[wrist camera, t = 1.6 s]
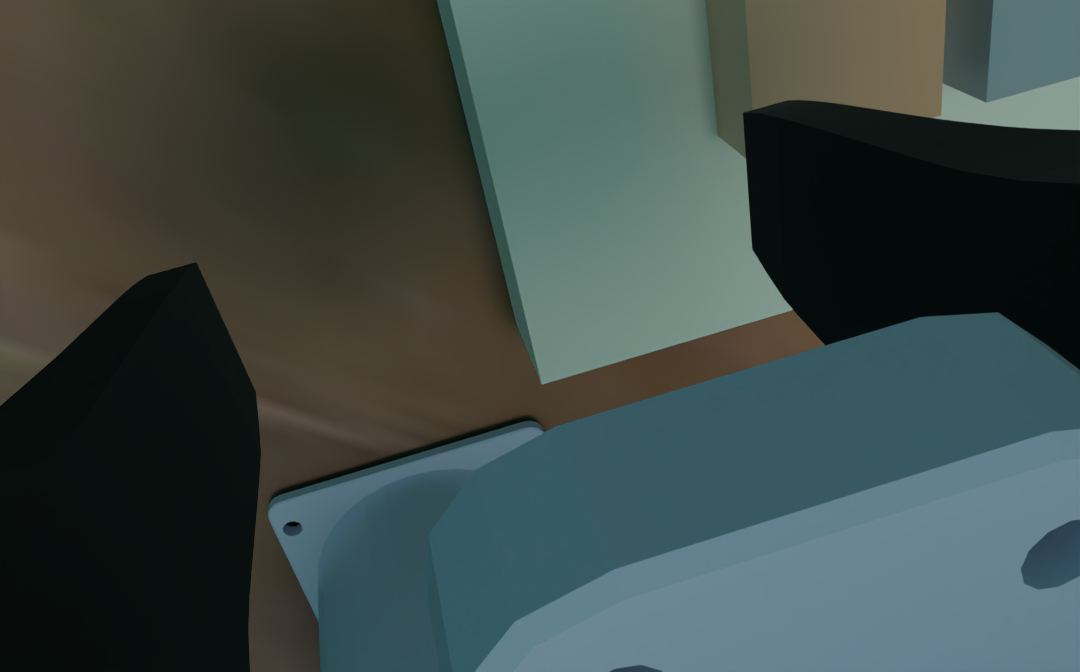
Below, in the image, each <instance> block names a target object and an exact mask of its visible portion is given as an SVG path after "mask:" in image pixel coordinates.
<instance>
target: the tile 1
mask: <svg viewBox="0 0 1080 672" xmlns="http://www.w3.org/2000/svg"><path fill="white" fill-rule="evenodd" d="M705 2H706V13H707V24H708V35H709V45H710V56H711V67H712V77H713V88H714V99H715V109H716V120H717V131H718V136H719V137H720V138H721V139H722V140H723V141H725V142H726V143H727V144H728V145H730V146H731V147H732V148H733V149H735V150H736V151H737V152H738V153H740V154H741V155H742V156H743V157H745V158H746V152H745V138H744V123H743V112H747V111H751V110H754V109H758V108H762V107H765V106H769V105H773V104H776V103H780V102H783V101H788V100H809V101H820V102H829V103H837V104H844V105H851V106H857V107H864V108H870V109H876V110H883V111H889V112H895V113H902V114H908V115H915V116H922V117H928V118H934V117H937V116H941V109H942V86H943V63H944V41H945V18H946V0H705Z"/></svg>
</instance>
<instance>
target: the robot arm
mask: <svg viewBox="0 0 1080 672" xmlns="http://www.w3.org/2000/svg"><path fill="white" fill-rule="evenodd" d="M743 123H744V138H745V152H746V167H747V181H748V196H749V210H750V225H751V239H752V250H753V251H754V253H755V255H756V256H757V258H758V259H759V261H760V263H761V264H762V266H763V268H764V269H765V271H766V272H767V274H768V276H769V277H770V279H771V280H772V282H773V283H774V285H775V286H776V288H777V289H778V291H779V292H780V294H781V295H782V297H783V298H784V300H785V301H786V302H787V303H788V304H789V305H790V307H791V308H792V309H793V310H794V311H795V312H796V313H797V315H798V316H799V317H800V318H801V319H802V320H803V321H804V322H805V323H806V324H807V326H808V327H809V328H810V329H811V330H812V331H813V332H814V333H815V334H816V336H817V337H818V338H819V339H820V340H821V341H822V342H823V343H824V344H825V345H826V346H822V347H819V348H816V349H812V350H809V351H806V352H802V353H799V354H796V355H792V356H789V357H786V358H782V359H779V360H776V361H772V362H769V363H766V364H762V365H759V366H756V367H752V368H749V369H745V370H742V371H739V372H735V373H732V374H729V375H725V376H722V377H719V378H715V379H712V380H709V381H705V382H702V383H699V384H695V385H692V386H689V387H685V388H682V389H679V390H675V391H672V392H669V393H665V394H662V395H659V396H655V397H652V398H649V399H645V400H642V401H639V402H635V403H632V404H629V405H625V406H622V407H619V408H615V409H612V410H609V411H605V412H602V413H599V414H595V415H592V416H588V417H585V418H582V419H578V420H575V421H572V422H568V423H565V424H562V425H558V426H556V427H554V428H552V429H550V430H548V431H547V432H545V433H544V431H543V429H542V427H541V425H540V424H538V423H537V422H533V421H524V422H520V423H517V424H514V425H510V426H507V427H504V428H500V429H497V430H494V431H490V432H487V433H484V434H481V435H477V436H474V437H471V438H467V439H464V440H461V441H457V442H454V443H451V444H447V445H444V446H441V447H437V448H434V449H431V450H427V451H424V452H421V453H417V454H414V455H411V456H407V457H404V458H401V459H397V460H394V461H391V462H387V463H384V464H381V465H377V466H374V467H371V468H367V469H364V470H361V471H358V472H354V473H351V474H348V475H344V476H341V477H338V478H334V479H331V480H328V481H324V482H321V483H318V484H314V485H311V486H308V487H304V488H301V489H298V490H294V491H291V492H288V493H284V494H281V495H279V496H277V497H275V498H274V499H273V500H272V501H271V502H270V504H269V507H268V518H269V521H270V523H271V525H272V527H273V530H274V532H275V534H276V536H277V538H278V540H279V542H280V544H281V546H282V548H283V550H284V552H285V554H286V556H287V558H288V560H289V562H290V564H291V567H292V569H293V571H294V573H295V575H296V577H297V579H298V581H299V583H300V585H301V587H302V589H303V591H304V593H305V595H306V597H307V599H308V602H309V604H310V606H311V608H312V610H313V612H314V614H315V616H316V618H317V620H318V622H319V647H320V672H1080V130H1062V129H1034V128H1019V127H1006V126H996V125H987V124H977V123H968V122H959V121H951V120H943V119H936V118H928V117H922V116H915V115H908V114H902V113H895V112H889V111H883V110H876V109H870V108H864V107H857V106H851V105H844V104H837V103H829V102H820V101H809V100H788V101H783V102H780V103H776V104H773V105H769V106H765V107H762V108H758V109H754V110H751V111H747V112H743ZM260 459H261V449H260V434H259V421H258V411H257V400H256V392H255V389H254V387H253V385H252V383H251V381H250V378H249V376H248V374H247V372H246V370H245V368H244V365H243V363H242V361H241V359H240V357H239V354H238V352H237V350H236V348H235V346H234V343H233V341H232V339H231V337H230V335H229V333H228V330H227V328H226V326H225V324H224V322H223V319H222V317H221V315H220V313H219V311H218V309H217V306H216V304H215V302H214V300H213V298H212V295H211V293H210V291H209V289H208V287H207V285H206V282H205V280H204V278H203V276H202V274H201V271H200V269H199V267H198V265H197V263H192V264H188V265H185V266H181V267H177V268H174V269H170V270H167V271H163V272H159V273H156V274H152V275H148V276H146V277H145V278H143V279H142V280H140V281H139V282H137V283H136V284H135V285H133V286H132V287H131V288H130V289H129V290H127V291H126V292H125V293H124V294H123V295H122V296H121V297H119V298H118V299H117V300H116V301H115V302H114V303H113V304H112V305H111V306H110V307H109V308H108V309H107V310H106V311H104V312H103V313H102V314H101V315H100V316H99V317H98V318H97V319H96V320H95V321H94V322H93V323H92V324H91V325H90V326H89V327H88V328H87V329H86V330H85V331H83V332H82V333H81V334H80V335H79V336H78V337H77V338H76V339H75V340H74V341H73V342H72V343H71V344H70V345H69V346H68V347H67V348H66V349H65V350H64V351H62V352H61V353H60V354H59V355H58V356H57V357H56V358H55V359H54V360H53V361H51V362H50V363H49V364H48V365H47V366H46V367H45V368H43V369H42V370H41V371H40V372H39V373H38V374H37V375H35V376H34V377H33V378H32V379H31V380H30V381H29V382H27V383H26V384H25V385H24V386H23V387H22V388H21V389H19V390H18V391H17V392H16V393H15V394H14V395H13V396H11V397H10V398H9V399H8V400H7V401H6V402H5V403H3V404H2V405H1V406H0V672H250V664H249V639H248V618H249V593H250V582H251V570H252V558H253V547H254V535H255V524H256V512H257V500H258V487H259V474H260ZM294 521H295V522H298V523H300V524H299V525H297V526H293V527H290V526H287V525H286V524H287V523H288V522H294Z"/></svg>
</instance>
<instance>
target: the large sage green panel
mask: <svg viewBox="0 0 1080 672" xmlns="http://www.w3.org/2000/svg"><path fill="white" fill-rule="evenodd" d="M437 4H438V8H439V12H440V16H441V20H442V24H443V28H444V32H445V36H446V40H447V44H448V49H449V53H450V57H451V61H452V65H453V69H454V73H455V77H456V81H457V85H458V89H459V93H460V97H461V101H462V105H463V109H464V113H465V117H466V122H467V126H468V130H469V134H470V138H471V142H472V146H473V150H474V154H475V158H476V162H477V166H478V170H479V174H480V178H481V182H482V186H483V190H484V195H485V199H486V203H487V207H488V211H489V215H490V219H491V223H492V227H493V231H494V235H495V239H496V243H497V247H498V251H499V255H500V259H501V263H502V268H503V272H504V276H505V280H506V284H507V288H508V292H509V296H510V300H511V304H512V308H513V312H514V316H515V320H516V324H517V327H518V329H519V332H520V334H521V336H522V339H523V341H524V344H525V346H526V348H527V351H528V353H529V356H530V358H531V360H532V363H533V365H534V368H535V370H536V372H537V375H538V377H539V380H540V382H541V384H546V383H549V382H552V381H556V380H559V379H563V378H566V377H569V376H573V375H576V374H579V373H583V372H586V371H589V370H593V369H596V368H599V367H603V366H606V365H610V364H613V363H616V362H620V361H623V360H626V359H630V358H633V357H636V356H640V355H643V354H647V353H650V352H653V351H657V350H660V349H663V348H667V347H670V346H673V345H677V344H680V343H683V342H687V341H690V340H694V339H697V338H700V337H704V336H707V335H710V334H714V333H717V332H720V331H724V330H727V329H731V328H734V327H737V326H741V325H744V324H747V323H751V322H754V321H757V320H761V319H764V318H767V317H771V316H774V315H778V314H781V313H784V312H788V311H791V310H793V309H792V308H791V307H790V305H789V304H788V303H787V302H786V301H785V300H784V298H783V297H782V295H781V294H780V292H779V291H778V289H777V288H776V286H775V285H774V283H773V282H772V280H771V279H770V277H769V276H768V274H767V272H766V271H765V269H764V268H763V266H762V264H761V263H760V261H759V259H758V258H757V256H756V255H755V253H754V251H753V250H752V239H751V225H750V210H749V196H748V181H747V167H746V158H745V157H743V156H742V155H741V154H740V153H738V152H737V151H736V150H735V149H733V148H732V147H731V146H730V145H728V144H727V143H726V142H725V141H723V140H722V139H721V138H720V137H719V136H718V131H717V120H716V109H715V99H714V88H713V77H712V67H711V56H710V45H709V35H708V24H707V13H706V2H705V0H437ZM934 118H936V119H943V120H951V121H959V122H968V123H977V124H987V125H996V126H1006V127H1019V128H1034V129H1062V130H1080V76H1079V77H1076V78H1072V79H1069V80H1065V81H1062V82H1058V83H1054V84H1051V85H1047V86H1044V87H1040V88H1037V89H1033V90H1030V91H1026V92H1023V93H1019V94H1015V95H1012V96H1008V97H1005V98H1001V99H998V100H994V101H991V102H987V103H986V102H983V101H981V100H979V99H977V98H975V97H972V96H970V95H968V94H966V93H963V92H961V91H959V90H957V89H954V88H952V87H950V86H948V85H945V84H943V86H942V109H941V116H937V117H934Z"/></svg>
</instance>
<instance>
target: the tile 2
mask: <svg viewBox="0 0 1080 672" xmlns="http://www.w3.org/2000/svg"><path fill="white" fill-rule="evenodd" d="M1079 76H1080V0H946V18H945V41H944V63H943V84H945V85H948V86H950V87H952V88H954V89H957V90H959V91H961V92H963V93H966V94H968V95H970V96H972V97H975V98H977V99H979V100H981V101H983V102H986V103H987V102H991V101H994V100H998V99H1001V98H1005V97H1008V96H1012V95H1015V94H1019V93H1023V92H1026V91H1030V90H1033V89H1037V88H1040V87H1044V86H1047V85H1051V84H1054V83H1058V82H1062V81H1065V80H1069V79H1072V78H1076V77H1079Z"/></svg>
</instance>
